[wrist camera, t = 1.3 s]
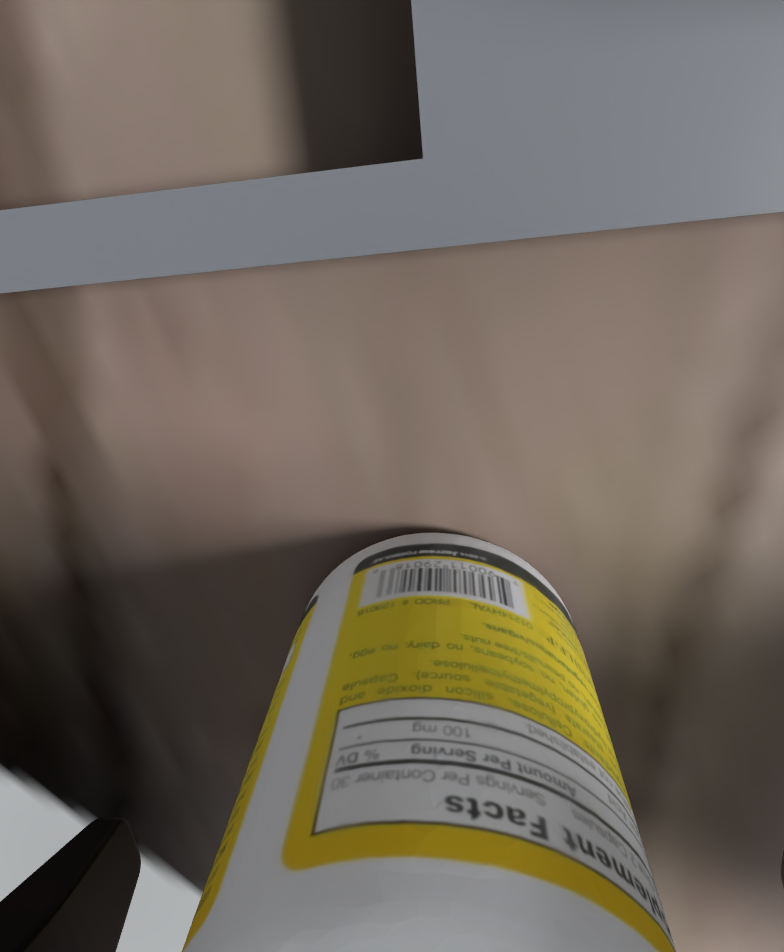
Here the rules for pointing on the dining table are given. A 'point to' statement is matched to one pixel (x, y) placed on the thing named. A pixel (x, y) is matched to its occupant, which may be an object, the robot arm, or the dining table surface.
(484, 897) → the supplement bottle
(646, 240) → the dining table surface
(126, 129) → the dining table surface
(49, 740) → the dining table surface
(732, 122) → the bottle holder
